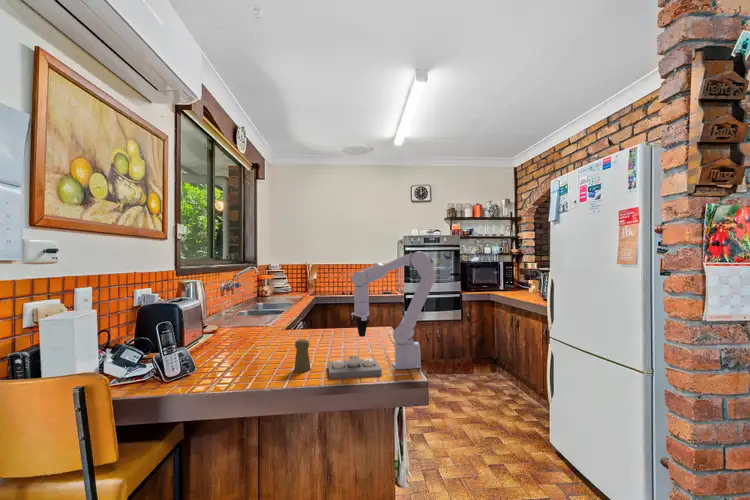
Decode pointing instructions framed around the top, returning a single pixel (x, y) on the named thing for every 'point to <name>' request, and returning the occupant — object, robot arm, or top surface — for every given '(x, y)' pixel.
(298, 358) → the cork
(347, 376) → the button panel
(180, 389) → the top surface
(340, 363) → the button
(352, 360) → the button
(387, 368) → the top surface
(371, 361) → the button
